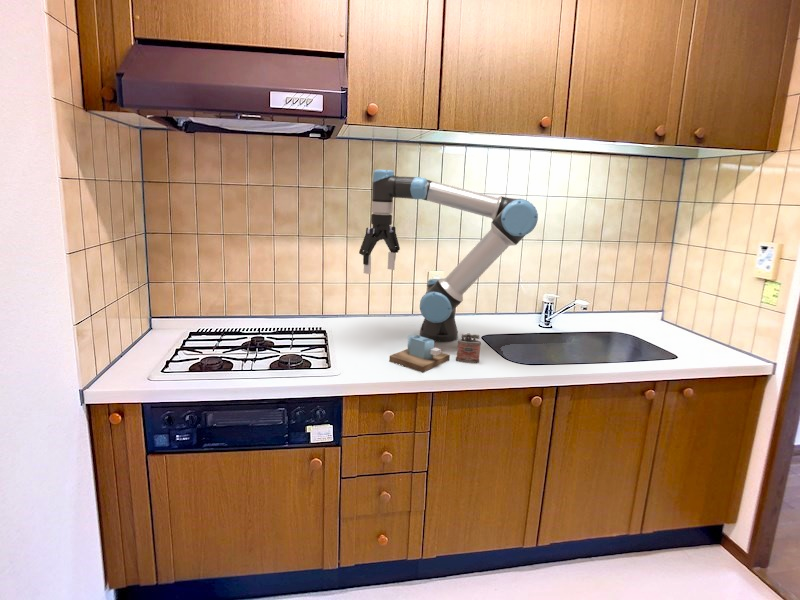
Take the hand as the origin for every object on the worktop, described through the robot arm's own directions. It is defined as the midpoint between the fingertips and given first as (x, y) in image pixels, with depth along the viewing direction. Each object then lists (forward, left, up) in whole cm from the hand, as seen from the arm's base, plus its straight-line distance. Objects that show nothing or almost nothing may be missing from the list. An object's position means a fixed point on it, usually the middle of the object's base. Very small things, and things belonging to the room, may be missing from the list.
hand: (379, 271), depth 185 cm
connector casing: (+6, +26, -25) cm, 36 cm away
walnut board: (+6, +25, -27) cm, 37 cm away
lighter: (-6, +37, -27) cm, 46 cm away
